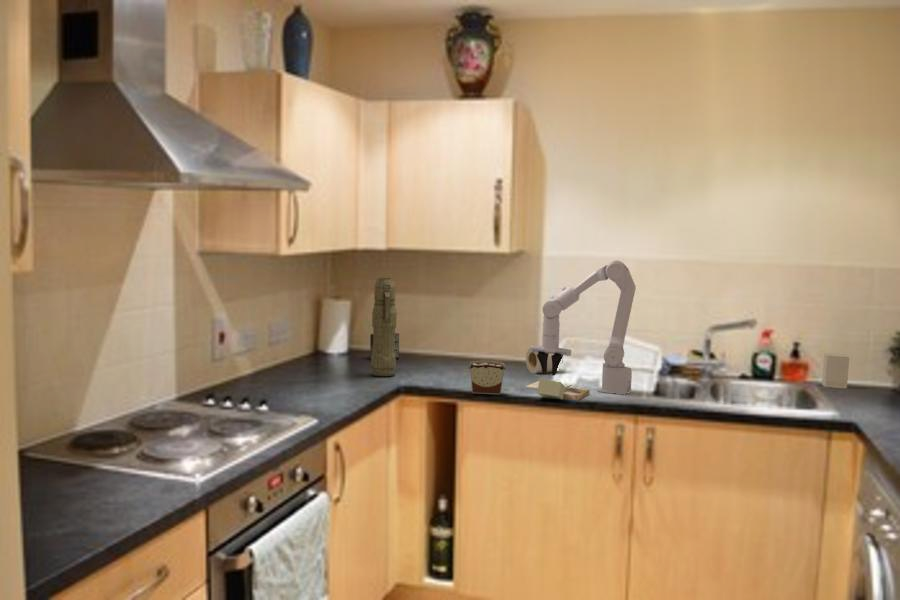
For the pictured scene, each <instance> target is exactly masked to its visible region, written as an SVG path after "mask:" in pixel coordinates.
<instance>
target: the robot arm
mask: <svg viewBox="0 0 900 600" xmlns="http://www.w3.org/2000/svg"><path fill="white" fill-rule="evenodd" d="M607 280H610V281H612V282H613V283H614V284H615V285H616V286H617V287H618V289H619V290H620V294H619V298H618V304H617V307H616V313H615V316H614V318H615V319H614V322H613V326H612V331H611V336H610V340H609V343H608V346H607V347H606V349H605V351H604V352H603V361H604V362H602V373H601V375H602V376H601V377H602V378H601V388H599V389H598V390H597V392H598V393H604V394H613V393H616V395H621V394H623V395H622V396H625V394H626V395H627V393H628V392H629V393H631V392H632V378H633V377H632V376H633V375H632V374H633V371H632V368H631V367H629V366H625V365H626V364H625V363H624V362H623V360H624V357H625V350H624V344H625V339H626V334H627V331H628V329H627V328H628V325H629V320H630V316H631V315H630V314H631V311H632V307H633V302H634V299H635V298H634V297H635V294H636V290H637V289H636V284H635V281H634V279H633V276H632V275H631V271H630V269H629V267H627V266H626V264H625V263H624V262H622V261H620V260H613V261H611V262H609V263H608V264H605V265H604V266H602V267H599V268H598V269H596V270H594V271H593V272H591V274H589V275H588V276H586V278H584V279H583V280H581V281H580V282H579V283H578V284H576V285H575V286H572V285H571V286H570V285H569V286H567V287H566V286H565V287H563V288H562V290H561V291H560V292H559V293H558V294H556V295H555V296H554V295H553V296H551V298H550V300H546V301H545V303H544V304H543V306H542V310H541V311H542V313H543V317H542V320H543V321H542V336H541V346H540V345H531V346H529V348H530V352H538V354H537V357H538V359H539V361H540V364H541V368H542V373H541V374H542V375H546V374H548V373H547V360H548V355H549V354H554V355H551V357H552V372H551V375H552V376H556V375H557V373H558V372H557V368H558V365H559V363H560V361H561V359H562V360H563V357H564V356H566V357H570V356H572V349H568V348H564V347H563V348H561V347H560V346H559V345H560V314H561V312H562V311H566V309H568V308H569V307H571V306H572V305H573V304H575V303H576V302H578V301H579V300H580V297H581V294H582V293H584V292H585V291H586V290H588V289H589V288H590V287H593V286H594V285H595V284H597V283H598V282H601V281H607ZM546 351H549V352H546ZM630 391H631V392H630ZM629 393H628V394H629Z"/></svg>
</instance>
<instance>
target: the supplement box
mask: <svg viewBox="0 0 900 600" xmlns="http://www.w3.org/2000/svg"><path fill="white" fill-rule="evenodd" d="M849 364H850V356H848V355H847V354H844V353H829V352H825V353H824V354H823V367H822V379H821V380H822V381H821V384H822V386H823V387H824V388H834V389H835V388H836V389H847V388H848V378H849Z"/></svg>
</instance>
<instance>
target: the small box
mask: <svg viewBox="0 0 900 600" xmlns="http://www.w3.org/2000/svg"><path fill="white" fill-rule="evenodd" d="M369 335H370V338H369V339H370V344H369V345H370V347H369V358H371V356H372V353H373V333H370V334H369ZM394 353H395V356H396V358H399V359H400V333H399V332H398V333H397V332H395V349H394Z"/></svg>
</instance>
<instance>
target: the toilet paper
mask: <svg viewBox="0 0 900 600" xmlns="http://www.w3.org/2000/svg"><path fill="white" fill-rule="evenodd" d="M546 352H549V351H546ZM537 354H538V352H530V347H529V348H528V349H527V351H526V354H525V355H526V356H525V364H526V368H527V370H528V372H530V373H532V374H543V373H542V368H541V364H540V361H539V359H538V357H537ZM551 355H554V354H549V355H548V360H547V374H549V373H552V357H551Z"/></svg>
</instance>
